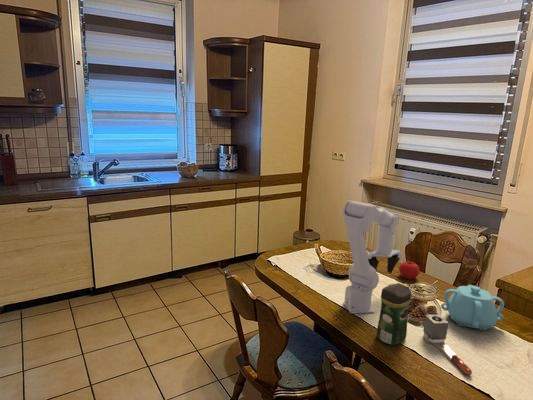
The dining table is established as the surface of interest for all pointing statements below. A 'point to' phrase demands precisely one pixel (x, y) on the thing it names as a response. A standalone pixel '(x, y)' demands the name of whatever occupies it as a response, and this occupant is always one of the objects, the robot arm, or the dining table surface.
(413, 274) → the tomato
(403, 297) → the coffee jar
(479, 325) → the decorative pot
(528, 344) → the dining table surface
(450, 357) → the ratchet
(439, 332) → the socket
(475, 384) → the dining table surface
